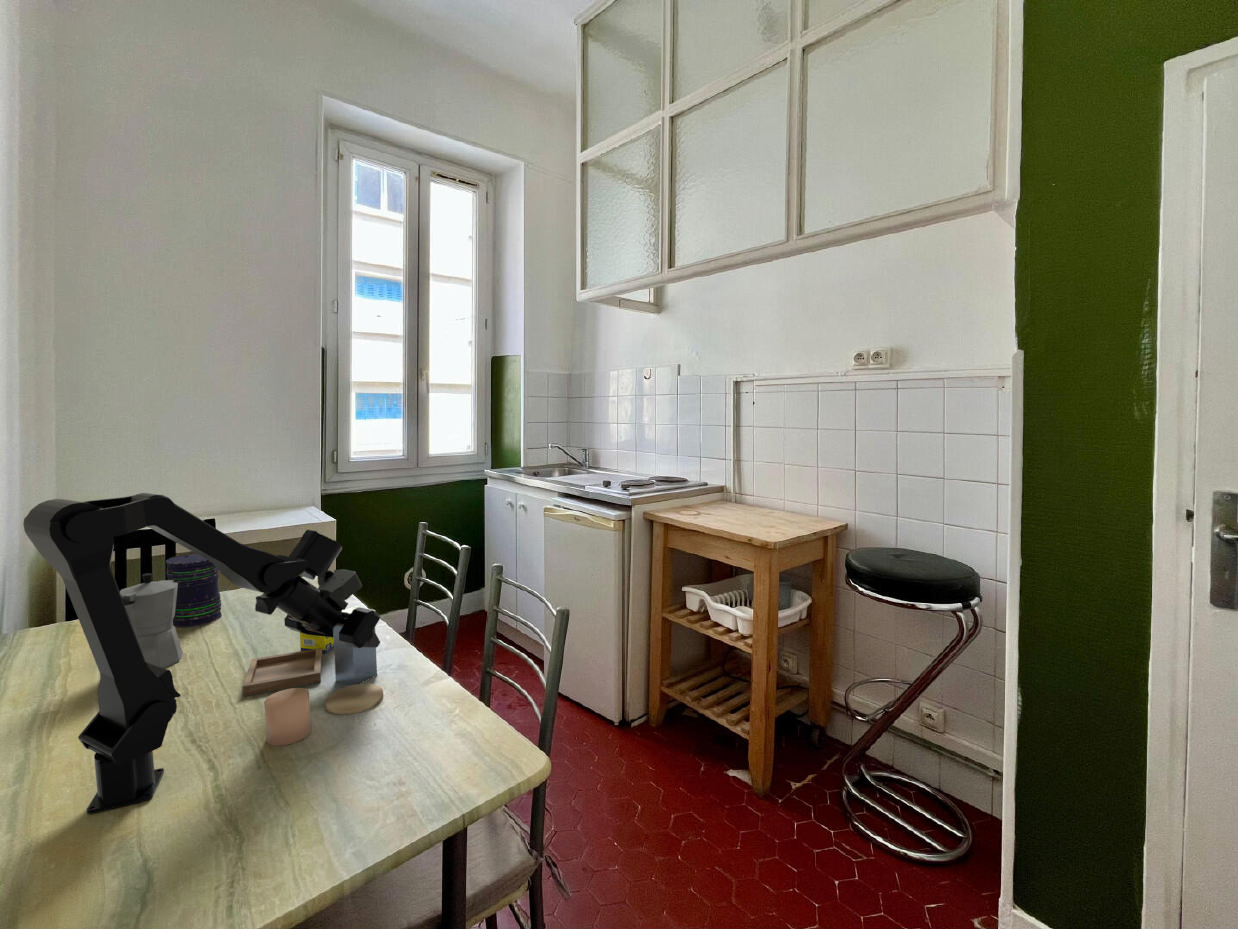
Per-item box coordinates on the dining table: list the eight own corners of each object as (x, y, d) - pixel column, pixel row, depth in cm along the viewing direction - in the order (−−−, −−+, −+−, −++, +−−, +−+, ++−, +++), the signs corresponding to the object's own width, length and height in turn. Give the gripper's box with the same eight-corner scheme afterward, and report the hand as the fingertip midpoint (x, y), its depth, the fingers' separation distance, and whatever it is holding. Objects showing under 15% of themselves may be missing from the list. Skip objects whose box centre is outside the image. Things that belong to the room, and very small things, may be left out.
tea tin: (354, 687, 104) (351, 619, 103) (334, 680, 106) (331, 614, 105) (377, 675, 109) (375, 610, 107) (358, 669, 111) (355, 605, 110)
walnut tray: (320, 682, 106) (320, 672, 106) (243, 696, 101) (242, 686, 100) (322, 656, 117) (321, 647, 116) (252, 668, 111) (251, 659, 111)
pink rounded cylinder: (312, 738, 88) (309, 701, 87) (266, 750, 85) (263, 711, 84) (310, 720, 93) (308, 684, 93) (267, 730, 90) (264, 694, 90)
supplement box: (325, 654, 118) (322, 602, 116) (299, 651, 119) (296, 600, 118) (344, 642, 123) (342, 593, 122) (320, 640, 125) (317, 591, 123)
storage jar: (230, 617, 138) (226, 556, 136) (181, 631, 129) (176, 565, 128) (210, 609, 143) (206, 550, 141) (163, 622, 135) (157, 559, 133)
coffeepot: (152, 649, 120) (145, 564, 118) (200, 647, 120) (194, 563, 119) (92, 685, 104) (83, 588, 102) (148, 683, 105) (140, 587, 103)
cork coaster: (385, 707, 97) (384, 702, 97) (325, 719, 93) (325, 714, 93) (381, 683, 105) (381, 679, 105) (326, 694, 101) (325, 690, 101)
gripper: (368, 566, 97) (419, 609, 108) (296, 553, 105) (350, 594, 117) (329, 627, 91) (387, 666, 102) (255, 608, 99) (317, 646, 110)
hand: (360, 640), depth 108 cm, fingers open, 9 cm apart
